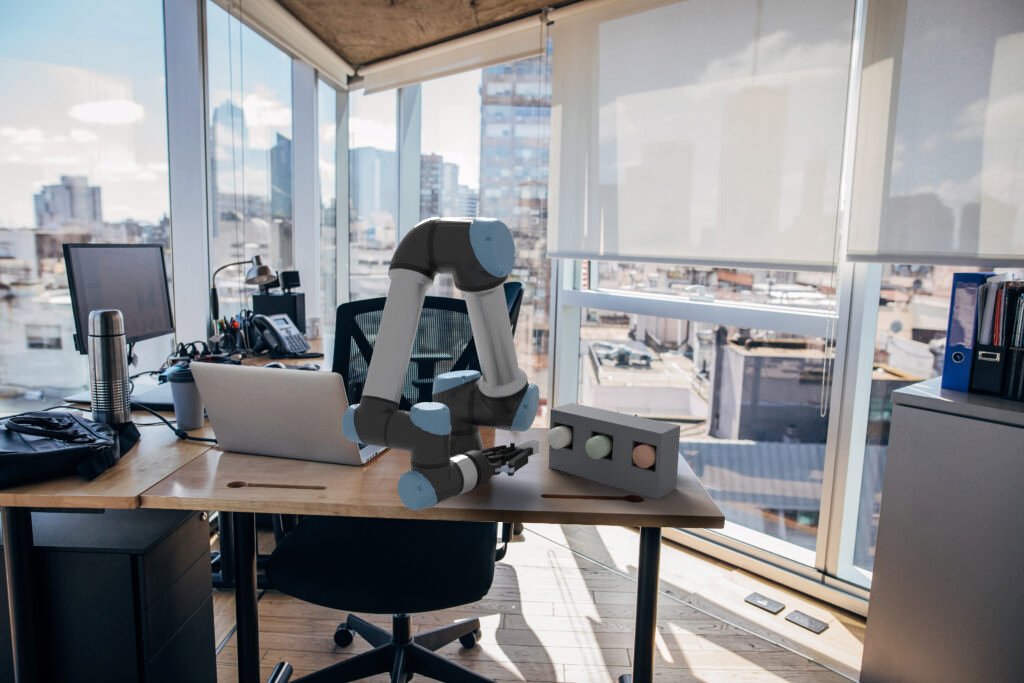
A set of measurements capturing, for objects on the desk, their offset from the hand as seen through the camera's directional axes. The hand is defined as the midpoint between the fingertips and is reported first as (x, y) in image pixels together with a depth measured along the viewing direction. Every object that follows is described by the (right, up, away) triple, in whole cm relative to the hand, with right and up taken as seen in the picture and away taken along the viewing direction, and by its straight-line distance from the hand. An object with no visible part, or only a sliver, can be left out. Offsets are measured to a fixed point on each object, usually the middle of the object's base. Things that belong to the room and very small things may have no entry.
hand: (536, 446), depth 150 cm
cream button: (+6, -1, +8) cm, 10 cm away
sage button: (+15, -3, +1) cm, 15 cm away
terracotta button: (+25, -4, -4) cm, 25 cm away
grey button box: (+18, -9, +6) cm, 21 cm away
